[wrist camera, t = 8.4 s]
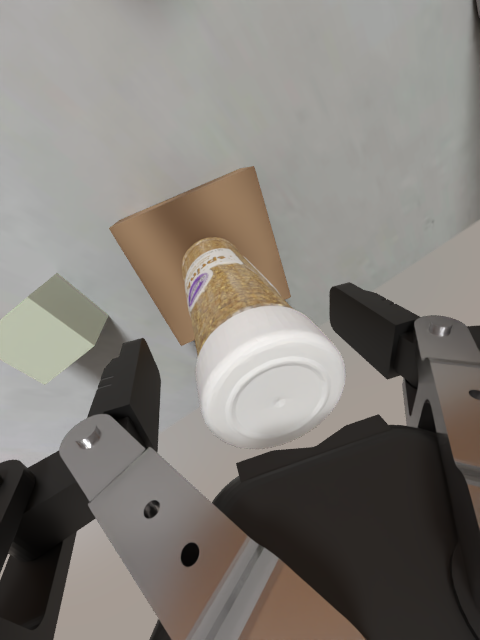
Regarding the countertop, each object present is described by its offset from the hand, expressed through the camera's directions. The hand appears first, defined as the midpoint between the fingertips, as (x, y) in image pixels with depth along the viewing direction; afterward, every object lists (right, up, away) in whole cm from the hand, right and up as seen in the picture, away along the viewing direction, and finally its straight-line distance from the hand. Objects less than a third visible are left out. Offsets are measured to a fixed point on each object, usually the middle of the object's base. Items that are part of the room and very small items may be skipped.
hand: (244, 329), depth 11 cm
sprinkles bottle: (-2, +4, +8) cm, 10 cm away
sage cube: (-15, +1, +11) cm, 19 cm away
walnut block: (-3, +6, +11) cm, 13 cm away
